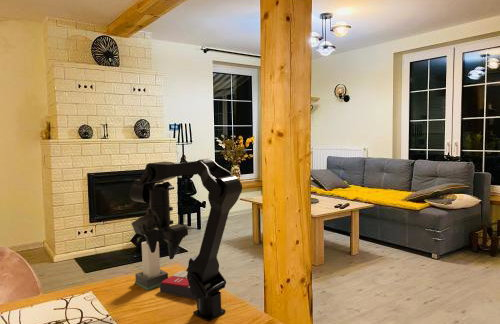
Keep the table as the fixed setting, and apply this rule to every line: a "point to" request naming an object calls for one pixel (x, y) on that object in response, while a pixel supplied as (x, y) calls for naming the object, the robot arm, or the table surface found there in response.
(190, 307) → the table surface
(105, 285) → the table surface
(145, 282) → the grey and green tray
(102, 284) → the table surface
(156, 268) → the plug
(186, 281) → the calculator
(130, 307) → the table surface
